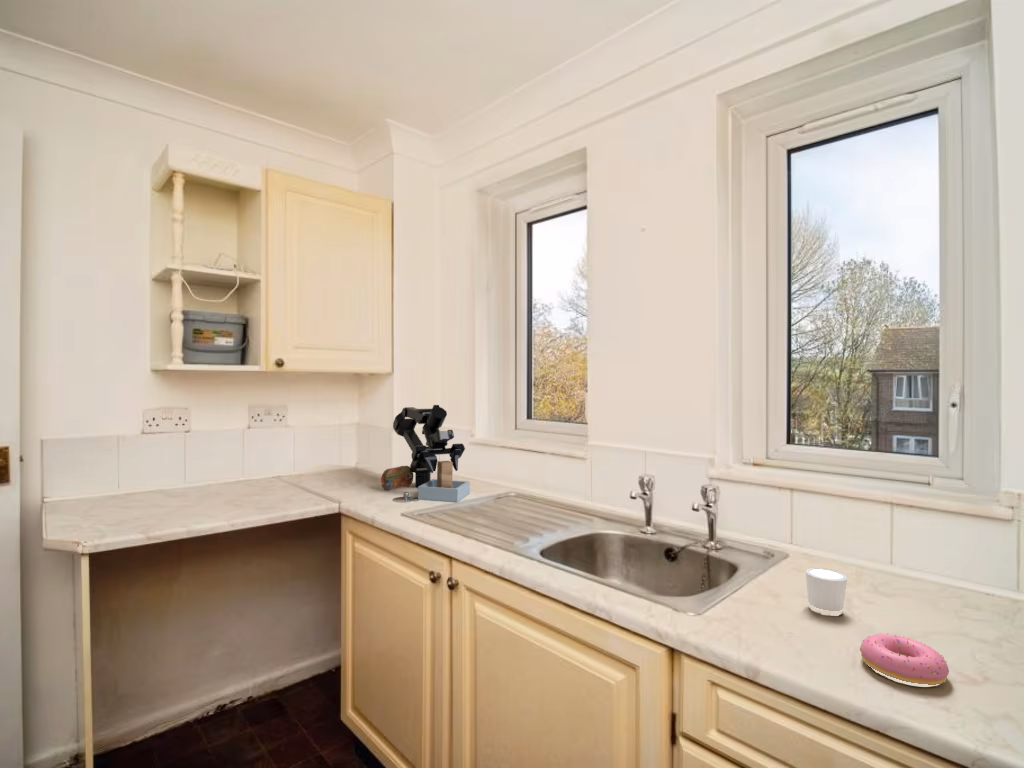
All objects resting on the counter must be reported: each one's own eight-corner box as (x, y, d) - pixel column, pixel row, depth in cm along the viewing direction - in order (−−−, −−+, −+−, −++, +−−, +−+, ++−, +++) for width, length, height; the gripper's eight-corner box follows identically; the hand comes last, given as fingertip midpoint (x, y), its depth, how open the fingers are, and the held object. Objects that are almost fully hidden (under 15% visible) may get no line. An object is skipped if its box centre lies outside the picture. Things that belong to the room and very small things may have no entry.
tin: (385, 493, 199) (386, 470, 199) (379, 492, 200) (379, 469, 200) (414, 486, 211) (414, 464, 211) (407, 485, 213) (408, 463, 213)
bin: (432, 492, 200) (432, 479, 200) (469, 495, 197) (469, 481, 197) (418, 501, 187) (418, 486, 186) (457, 504, 184) (457, 489, 183)
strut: (436, 495, 193) (437, 461, 192) (447, 494, 195) (447, 460, 194) (441, 497, 189) (442, 463, 189) (452, 496, 191) (452, 462, 191)
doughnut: (846, 666, 84) (847, 639, 84) (877, 647, 90) (878, 622, 90) (931, 702, 75) (932, 672, 75) (960, 678, 81) (961, 650, 81)
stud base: (399, 497, 192) (399, 488, 192) (423, 499, 190) (423, 490, 190) (387, 503, 183) (387, 493, 183) (413, 505, 181) (413, 495, 181)
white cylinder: (830, 620, 100) (831, 582, 99) (796, 606, 106) (797, 570, 106) (854, 614, 102) (855, 577, 102) (820, 600, 109) (821, 565, 109)
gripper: (414, 423, 191) (426, 459, 182) (463, 421, 201) (476, 455, 192) (406, 442, 198) (417, 478, 189) (453, 440, 208) (466, 474, 198)
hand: (444, 471), depth 192 cm, fingers open, 9 cm apart
